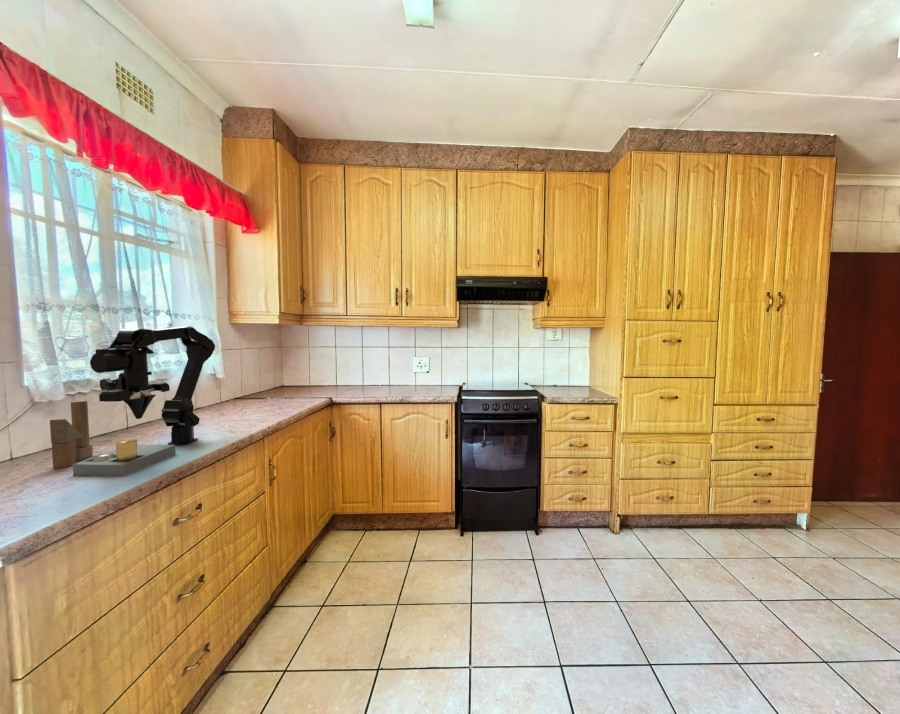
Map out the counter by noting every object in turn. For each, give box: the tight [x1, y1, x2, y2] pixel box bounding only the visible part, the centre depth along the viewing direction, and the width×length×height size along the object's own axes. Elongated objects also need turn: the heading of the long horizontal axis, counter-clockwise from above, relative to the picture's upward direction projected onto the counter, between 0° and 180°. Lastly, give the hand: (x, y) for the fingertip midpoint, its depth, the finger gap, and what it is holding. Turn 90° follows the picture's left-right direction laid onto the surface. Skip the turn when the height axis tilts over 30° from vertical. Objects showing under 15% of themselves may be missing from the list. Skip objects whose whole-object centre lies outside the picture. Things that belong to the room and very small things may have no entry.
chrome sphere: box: [91, 452, 114, 462], centre depth 102 cm, size 4×4×4 cm
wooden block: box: [49, 399, 94, 469], centre depth 107 cm, size 4×11×18 cm, turn 17°
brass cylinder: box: [115, 438, 138, 462], centre depth 101 cm, size 4×4×8 cm
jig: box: [72, 443, 177, 477], centre depth 106 cm, size 18×14×3 cm
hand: (138, 418), depth 111 cm, fingers closed
